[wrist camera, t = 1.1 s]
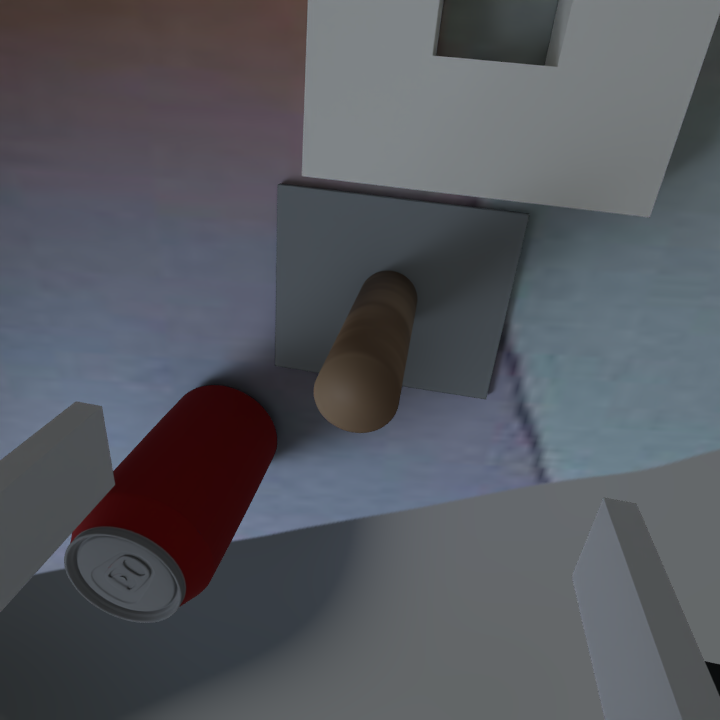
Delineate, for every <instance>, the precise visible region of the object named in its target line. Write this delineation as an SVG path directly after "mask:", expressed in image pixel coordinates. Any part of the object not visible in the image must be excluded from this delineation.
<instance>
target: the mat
mask: <svg viewBox="0 0 720 720" xmlns="http://www.w3.org/2000/svg"><path fill="white" fill-rule="evenodd" d="M528 219H529V214H528V213H520V212H511V211H503V210H495V209H487V208H478V207H470V206H462V205H454V204H445V203H437V202H429V201H421V200H412V199H404V198H396V197H388V196H379V195H371V194H363V193H355V192H346V191H338V190H330V189H322V188H313V187H305V186H297V185H289V184H278V196H277V264H276V332H275V366H279V367H285V368H292V369H298V370H304V371H310V372H317V373H319V372H320V370H321V368H322V366H323V364H324V362H325V360H326V358H327V356H328V354H329V352H330V350H331V348H332V346H333V344H334V342H335V340H336V338H337V336H338V334H339V332H340V330H341V328H342V326H343V324H344V322H345V320H346V318H347V316H348V314H349V312H350V310H351V308H352V306H353V304H354V302H355V300H356V298H357V296H358V294H359V292H360V290H361V288H362V286H363V284H364V282H365V281H366V280H367V279H368V278H369V277H370V276H371V275H373V274H375V273H377V272H380V271H395V272H398V273H400V274H403V275H404V276H406V277H407V278H408V279H409V280H410V281H411V282H412V284H413V285H414V287H415V289H416V292H417V307H416V312H415V317H414V323H413V328H412V334H411V339H410V345H409V350H408V356H407V361H406V367H405V372H404V378H403V383H402V386H405V387H411V388H417V389H423V390H430V391H436V392H442V393H449V394H455V395H461V396H467V397H474V398H480V399H486V397H487V393H488V388H489V384H490V380H491V376H492V372H493V367H494V363H495V359H496V355H497V350H498V346H499V342H500V338H501V334H502V329H503V325H504V321H505V317H506V312H507V308H508V304H509V300H510V295H511V291H512V287H513V283H514V279H515V274H516V270H517V266H518V262H519V257H520V253H521V249H522V245H523V241H524V236H525V232H526V228H527V224H528Z"/></svg>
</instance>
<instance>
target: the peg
mask: <svg viewBox="0 0 720 720" xmlns="http://www.w3.org/2000/svg"><path fill="white" fill-rule="evenodd" d="M416 307H417V292H416V289H415V287H414V285H413V284H412V282H411V281H410V280H409V279H408V278H407V277H406V276H404V275H403V274H400V273H398V272H395V271H380V272H377V273H375V274H373V275H371V276H370V277H369V278H368V279H367V280H366V281H365V282H364V284H363V286H362V288H361V290H360V292H359V294H358V296H357V298H356V300H355V302H354V304H353V306H352V308H351V310H350V312H349V314H348V316H347V318H346V320H345V322H344V324H343V326H342V328H341V330H340V332H339V334H338V336H337V338H336V340H335V342H334V344H333V346H332V348H331V350H330V352H329V354H328V356H327V358H326V360H325V362H324V364H323V366H322V368H321V370H320V372H319V374H318V377H317V379H316V381H315V384H314V399H315V403H316V405H317V407H318V409H319V411H320V413H321V414H322V415H323V416H324V417H325V418H326V419H327V420H328V421H329V422H330V423H331V424H333V425H334V426H336V427H338V428H340V429H343V430H345V431H349V432H355V433H366V432H372V431H375V430H378V429H380V428H382V427H383V426H385V425H386V424H388V423H389V422H390V421H391V419H392V418H393V417H394V415H395V414H396V411H397V409H398V405H399V399H400V394H401V388H402V383H403V378H404V372H405V367H406V361H407V356H408V350H409V345H410V339H411V334H412V328H413V323H414V317H415V312H416Z"/></svg>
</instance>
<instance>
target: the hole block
mask: <svg viewBox="0 0 720 720" xmlns="http://www.w3.org/2000/svg"><path fill="white" fill-rule="evenodd" d="M443 2H444V0H308V13H307V42H306V70H305V99H304V127H303V156H302V176H305V177H314V178H322V179H330V180H339V181H347V182H356V183H364V184H372V185H381V186H389V187H398V188H406V189H414V190H423V191H431V192H440V193H448V194H456V195H465V196H473V197H481V198H490V199H498V200H507V201H515V202H523V203H532V204H540V205H549V206H557V207H565V208H574V209H582V210H591V211H599V212H607V213H616V214H624V215H633V216H641V217H649V218H650V216H651V213H652V210H653V207H654V204H655V201H656V198H657V195H658V192H659V189H660V186H661V184H662V181H663V178H664V175H665V172H666V169H667V166H668V163H669V160H670V157H671V154H672V151H673V149H674V146H675V143H676V140H677V137H678V134H679V131H680V128H681V125H682V122H683V119H684V117H685V114H686V111H687V108H688V105H689V102H690V99H691V96H692V93H693V90H694V87H695V84H696V82H697V79H698V76H699V73H700V70H701V67H702V64H703V61H704V58H705V55H706V52H707V50H708V47H709V44H710V41H711V38H712V35H713V32H714V29H715V26H716V23H717V20H718V17H719V15H720V0H559V1H558V6H557V10H556V15H555V20H554V24H553V29H552V33H551V38H550V42H549V47H548V51H547V56H546V60H545V65H544V66H541V65H530V64H519V63H508V62H498V61H487V60H476V59H465V58H454V57H443V56H436V54H437V47H438V39H439V32H440V24H441V17H442V10H443Z"/></svg>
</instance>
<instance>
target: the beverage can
mask: <svg viewBox="0 0 720 720" xmlns="http://www.w3.org/2000/svg"><path fill="white" fill-rule="evenodd" d="M276 447H277V434H276V429H275V426H274V424H273V421H272V420H271V418H270V416H269V414H268V413H267V412H266V410H265V409H264V408H263V407H262V406H261V405H260V404H259V403H258V402H257V401H256V400H254V399H253V398H252V397H250V396H249V395H247V394H245V393H243V392H241V391H239V390H237V389H234V388H231V387H226V386H220V385H208V386H202V387H199V388H196V389H193V390H192V391H190V392H188V393H187V394H185V395H184V396H183V397H182V398H181V399H180V400H179V401H178V402H177V404H176V405H175V406H174V407H173V408H172V409H171V410H170V411H169V412H168V413H167V414H166V415H165V416H164V417H163V418H162V419H161V420H160V421H159V422H158V423H157V425H156V426H155V427H154V428H153V429H152V430H151V431H150V432H149V433H148V434H147V435H146V436H145V437H144V439H143V440H142V441H141V442H140V443H139V444H138V445H137V446H136V447H135V448H134V449H133V450H132V452H131V453H130V454H129V455H128V456H127V457H126V458H125V459H124V460H123V461H122V462H121V464H120V465H119V466H118V467H117V468H116V469H115V470H114V471H113V475H114V481H115V485H114V487H113V488H112V489H111V490H110V491H109V492H108V493H107V494H106V495H105V497H104V498H103V499H102V500H101V501H100V502H99V503H98V504H97V505H96V507H95V508H94V509H93V510H92V511H91V512H90V513H89V514H88V515H87V517H86V518H85V519H84V520H83V521H82V522H81V523H80V524H79V525H78V526H77V528H76V529H75V530H74V531H73V532H72V537H71V543H70V545H69V546H68V548H67V550H66V553H65V557H64V564H65V569H66V572H67V575H68V577H69V579H70V581H71V583H72V584H73V585H74V587H75V588H76V589H77V591H78V592H79V593H80V594H81V595H82V596H83V597H84V598H85V599H87V600H88V601H89V602H90V603H92V604H93V605H94V606H96V607H98V608H99V609H101V610H103V611H105V612H107V613H108V614H111V615H113V616H115V617H118V618H121V619H124V620H128V621H133V622H141V623H151V622H157V621H161V620H164V619H167V618H168V617H170V616H171V615H173V614H174V613H175V612H176V611H177V610H178V608H179V607H180V606H181V605H183V604H185V603H186V602H187V601H189V600H191V599H192V598H194V597H195V596H197V595H198V594H200V593H201V592H202V591H203V590H204V589H205V588H206V587H207V586H208V584H209V582H210V581H211V579H212V577H213V575H214V573H215V571H216V569H217V567H218V565H219V564H220V561H221V560H222V558H223V556H224V554H225V552H226V550H227V548H228V546H229V544H230V543H231V541H232V539H233V537H234V535H235V533H236V531H237V529H238V527H239V525H240V523H241V521H242V519H243V517H244V515H245V513H246V511H247V509H248V507H249V505H250V503H251V501H252V499H253V497H254V495H255V493H256V491H257V489H258V487H259V485H260V483H261V481H262V479H263V477H264V475H265V473H266V471H267V469H268V467H269V465H270V463H271V461H272V459H273V457H274V454H275V452H276Z"/></svg>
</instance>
